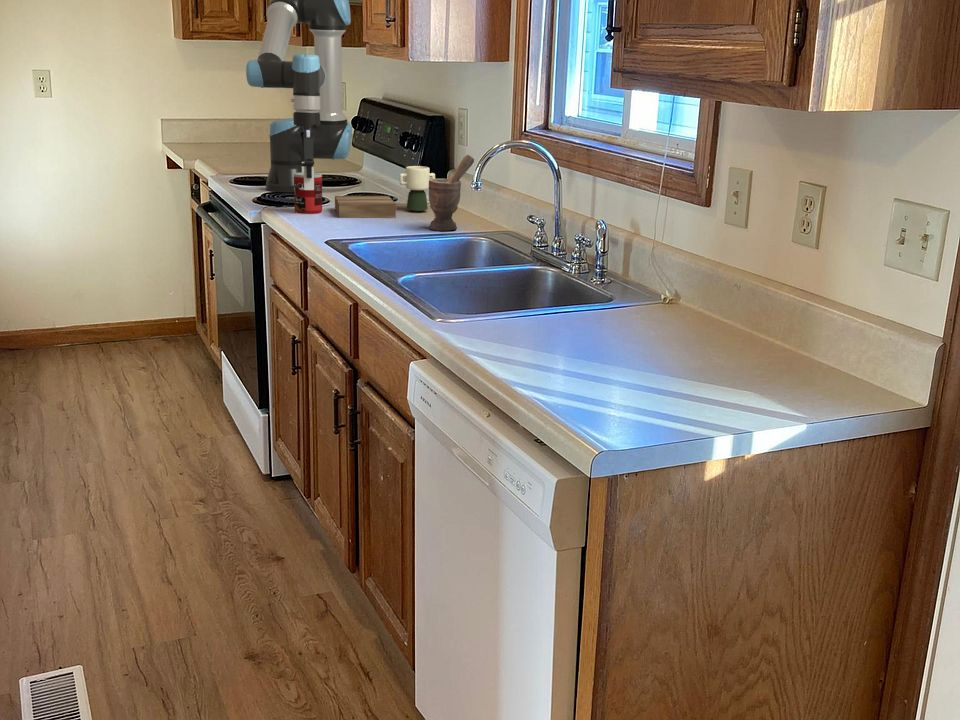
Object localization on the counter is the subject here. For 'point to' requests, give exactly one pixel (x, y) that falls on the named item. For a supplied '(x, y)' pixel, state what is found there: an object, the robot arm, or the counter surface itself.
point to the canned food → (307, 195)
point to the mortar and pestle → (447, 197)
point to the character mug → (417, 186)
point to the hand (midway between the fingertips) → (307, 187)
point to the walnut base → (365, 207)
